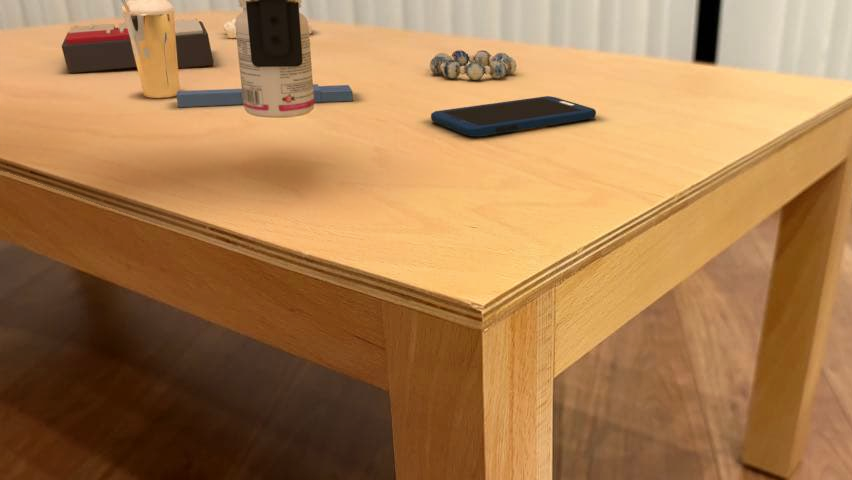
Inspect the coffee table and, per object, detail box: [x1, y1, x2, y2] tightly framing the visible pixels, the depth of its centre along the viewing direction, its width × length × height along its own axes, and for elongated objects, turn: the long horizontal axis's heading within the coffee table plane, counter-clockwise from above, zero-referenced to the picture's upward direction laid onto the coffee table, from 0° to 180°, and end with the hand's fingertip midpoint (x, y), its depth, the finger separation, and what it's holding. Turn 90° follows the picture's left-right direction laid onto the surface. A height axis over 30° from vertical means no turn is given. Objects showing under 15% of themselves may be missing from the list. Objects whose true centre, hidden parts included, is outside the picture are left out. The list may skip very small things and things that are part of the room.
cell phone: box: [430, 95, 597, 137], centre depth 78 cm, size 7×14×1 cm, turn 127°
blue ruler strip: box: [175, 83, 354, 108], centre depth 83 cm, size 16×3×1 cm, turn 108°
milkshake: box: [120, 0, 181, 99], centre depth 82 cm, size 4×5×10 cm
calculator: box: [61, 18, 214, 74], centre depth 99 cm, size 11×4×15 cm
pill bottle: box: [235, 0, 315, 119], centre depth 58 cm, size 5×5×8 cm
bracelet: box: [429, 49, 517, 81], centre depth 98 cm, size 10×10×2 cm
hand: (275, 55), depth 59 cm, fingers closed on pill bottle, 4 cm apart
